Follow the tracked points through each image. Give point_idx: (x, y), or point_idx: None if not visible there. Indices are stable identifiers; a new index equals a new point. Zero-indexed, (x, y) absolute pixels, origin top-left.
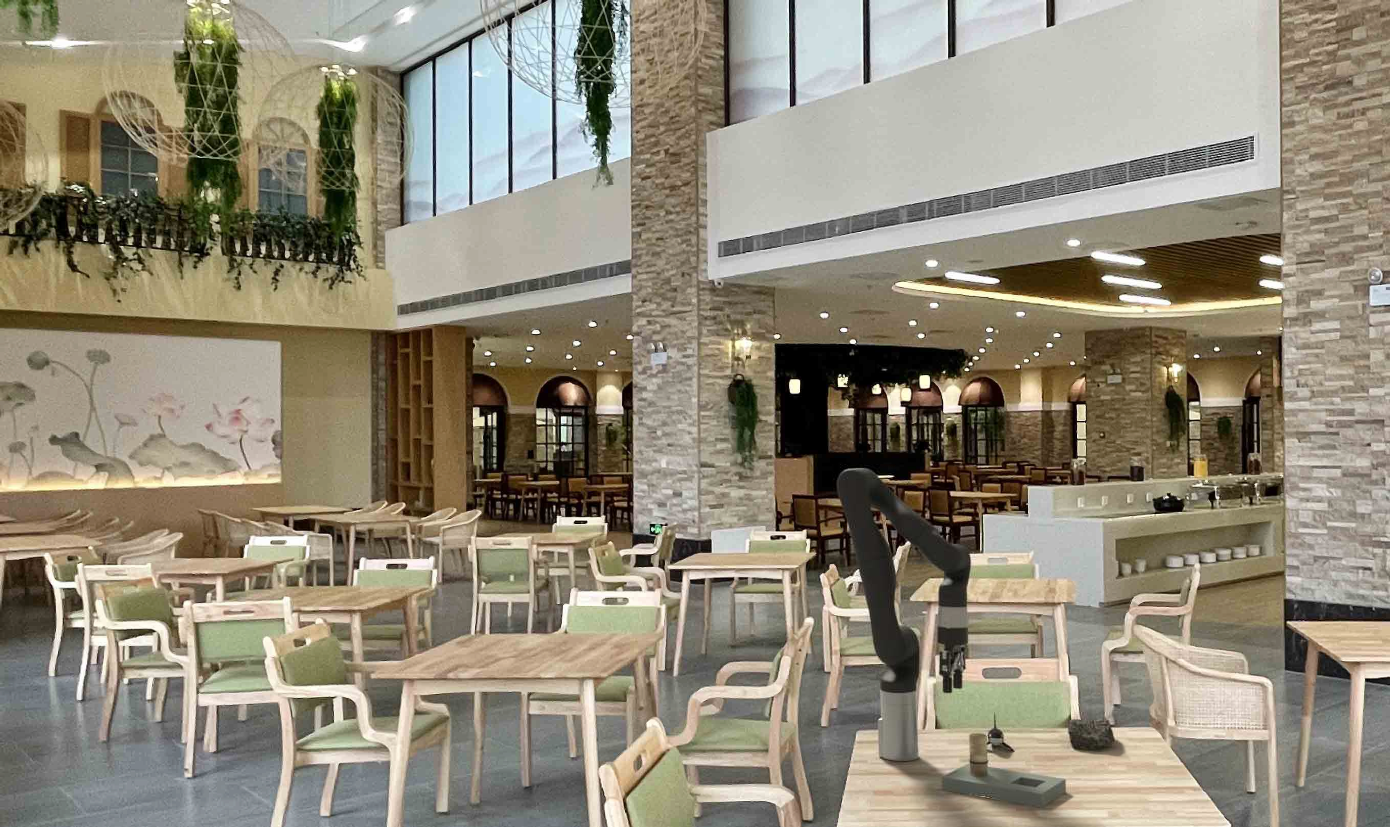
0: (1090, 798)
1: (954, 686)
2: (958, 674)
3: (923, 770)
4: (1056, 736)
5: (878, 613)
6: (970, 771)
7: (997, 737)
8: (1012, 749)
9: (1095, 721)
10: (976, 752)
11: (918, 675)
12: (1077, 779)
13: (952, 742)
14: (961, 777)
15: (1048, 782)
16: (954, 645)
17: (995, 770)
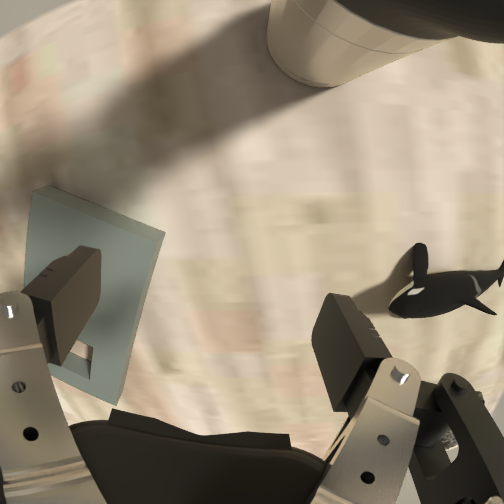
0: (110, 410)
1: (330, 303)
2: (342, 389)
3: (189, 112)
4: (481, 366)
5: None
6: (66, 255)
7: (390, 310)
8: (403, 317)
9: (446, 440)
10: None
11: (474, 33)
12: (206, 411)
13: (472, 182)
14: (41, 235)
15: (84, 382)
16: None
17: (116, 305)
